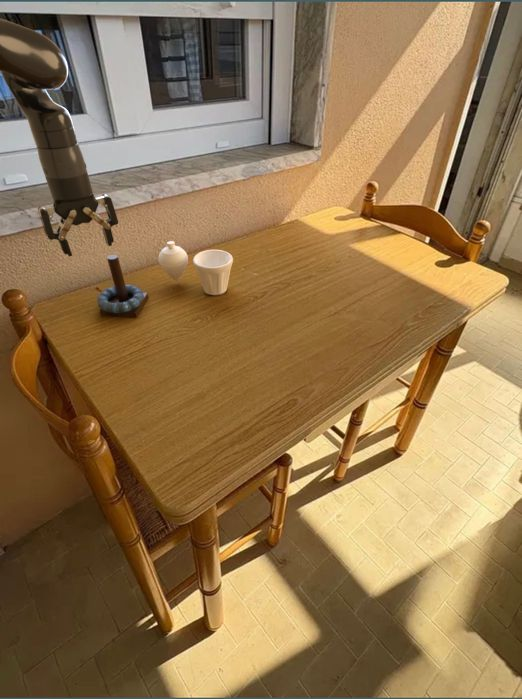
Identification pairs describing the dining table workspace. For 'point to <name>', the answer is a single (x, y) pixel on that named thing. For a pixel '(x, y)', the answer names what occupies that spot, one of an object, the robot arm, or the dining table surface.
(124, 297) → the stand
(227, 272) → the cup
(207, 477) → the dining table surface
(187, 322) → the dining table surface
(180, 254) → the spinning top
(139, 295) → the blue teething ring
